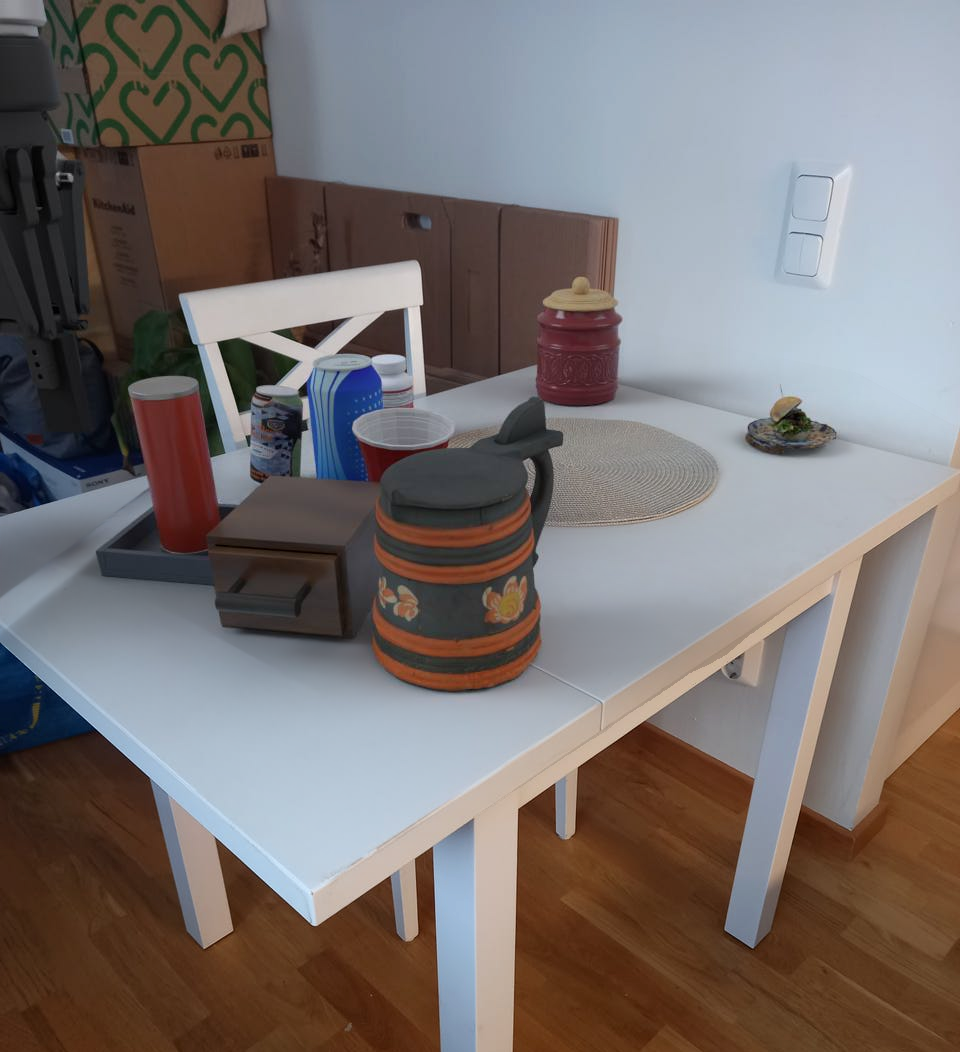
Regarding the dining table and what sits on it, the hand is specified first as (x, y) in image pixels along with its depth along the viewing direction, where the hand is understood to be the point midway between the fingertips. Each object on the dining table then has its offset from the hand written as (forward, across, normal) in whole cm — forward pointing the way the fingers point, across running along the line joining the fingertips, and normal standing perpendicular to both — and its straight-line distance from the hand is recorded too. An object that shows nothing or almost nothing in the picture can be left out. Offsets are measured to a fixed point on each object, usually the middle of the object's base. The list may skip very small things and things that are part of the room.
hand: (70, 428), depth 66 cm
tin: (+21, -24, -6) cm, 32 cm away
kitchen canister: (+22, -88, +28) cm, 95 cm away
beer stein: (+21, -12, +27) cm, 36 cm away
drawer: (+21, -13, +10) cm, 26 cm away
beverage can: (+22, -44, -4) cm, 49 cm away
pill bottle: (+22, -63, +5) cm, 67 cm away
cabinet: (+22, -17, +10) cm, 29 cm away
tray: (+22, -24, -6) cm, 33 cm away
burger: (+21, -70, +59) cm, 94 cm away
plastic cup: (+22, -34, +15) cm, 43 cm away
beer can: (+22, -42, +6) cm, 48 cm away
